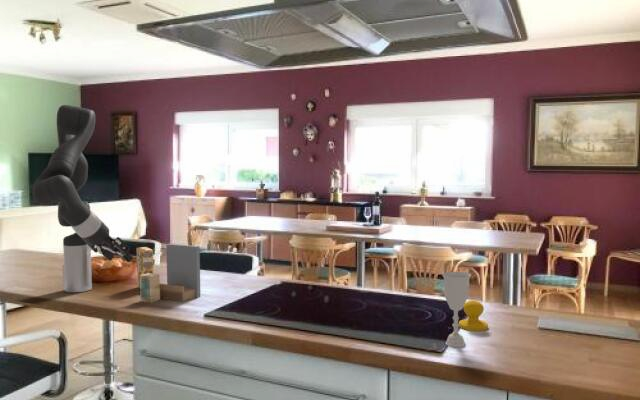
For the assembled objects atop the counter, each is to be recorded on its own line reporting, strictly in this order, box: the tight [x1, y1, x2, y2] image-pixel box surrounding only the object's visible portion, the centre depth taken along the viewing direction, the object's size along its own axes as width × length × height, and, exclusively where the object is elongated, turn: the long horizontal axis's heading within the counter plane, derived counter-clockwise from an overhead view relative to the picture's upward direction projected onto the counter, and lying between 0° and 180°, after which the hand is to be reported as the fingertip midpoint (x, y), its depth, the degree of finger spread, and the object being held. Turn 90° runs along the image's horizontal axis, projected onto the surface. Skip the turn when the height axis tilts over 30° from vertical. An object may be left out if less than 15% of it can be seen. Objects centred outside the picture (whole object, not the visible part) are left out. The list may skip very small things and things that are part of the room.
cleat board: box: [160, 243, 201, 302], centre depth 186 cm, size 14×8×18 cm, turn 62°
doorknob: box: [458, 299, 489, 332], centre depth 150 cm, size 8×8×8 cm
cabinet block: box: [139, 273, 161, 304], centre depth 181 cm, size 5×4×9 cm
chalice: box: [441, 271, 472, 348], centre depth 135 cm, size 7×7×18 cm
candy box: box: [136, 246, 155, 289], centre depth 199 cm, size 9×4×15 cm, turn 33°
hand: (121, 259), depth 170 cm, fingers open, 8 cm apart
